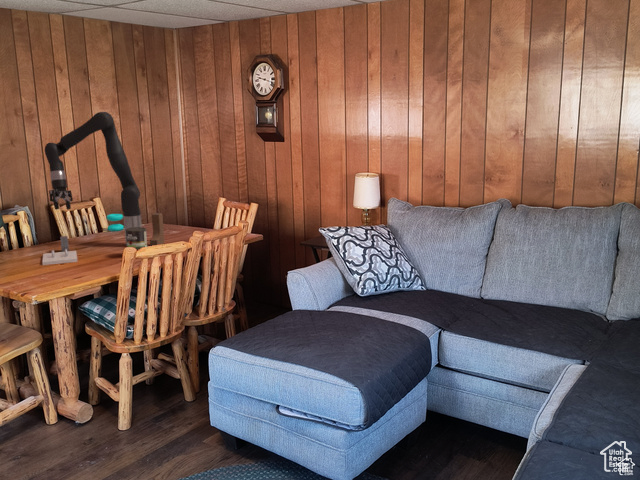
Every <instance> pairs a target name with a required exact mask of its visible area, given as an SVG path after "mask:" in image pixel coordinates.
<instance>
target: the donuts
mask: <svg viewBox="0 0 640 480" xmlns="http://www.w3.org/2000/svg"><path fill="white" fill-rule="evenodd" d="M123 219H124V215H123V213H110V214H107V215H106V220H107V221H110V222H117V221H121V220H123ZM107 230H108V231H109V232H121V231H123V230H125V228H124V224H121V223H111V224H109V225H108V226H107Z"/></svg>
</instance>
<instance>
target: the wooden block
mask: <svg viewBox="0 0 640 480" xmlns="http://www.w3.org/2000/svg"><path fill="white" fill-rule="evenodd" d="M163 217H164V215H163V213H159V212H155V213H152V214H151V222H152V223H151V224H152V237H151V238H150V240H149V247H150V246H152V245H157V244H163V243H164V244H165V234H164V230H165V229H164V219H163Z"/></svg>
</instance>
